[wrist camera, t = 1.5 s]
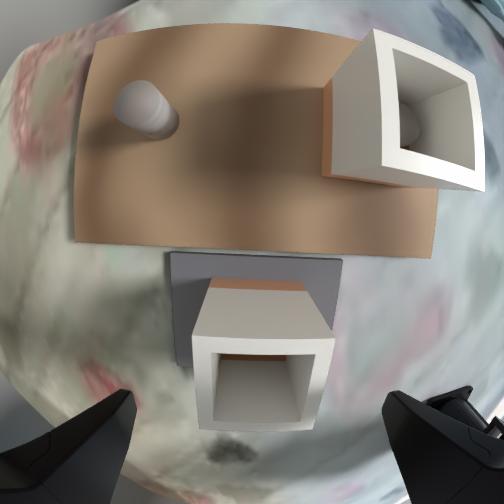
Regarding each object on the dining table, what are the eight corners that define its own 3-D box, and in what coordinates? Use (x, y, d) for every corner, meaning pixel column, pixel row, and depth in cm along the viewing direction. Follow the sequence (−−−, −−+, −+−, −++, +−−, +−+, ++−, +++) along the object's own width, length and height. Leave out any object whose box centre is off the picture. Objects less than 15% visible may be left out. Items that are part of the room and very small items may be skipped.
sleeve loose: (300, 280, 14) (335, 338, 8) (291, 354, 15) (312, 429, 9) (212, 277, 14) (191, 335, 8) (212, 352, 15) (199, 428, 9)
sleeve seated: (401, 106, 11) (474, 74, 6) (402, 187, 12) (484, 191, 7) (323, 87, 11) (373, 28, 5) (321, 176, 12) (381, 165, 6)
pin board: (421, 72, 12) (464, 49, 7) (419, 253, 14) (469, 275, 10) (105, 48, 11) (69, 15, 7) (85, 238, 14) (35, 257, 9)
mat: (340, 258, 14) (342, 260, 14) (321, 365, 16) (323, 369, 15) (172, 251, 14) (170, 252, 14) (178, 362, 15) (176, 365, 15)
